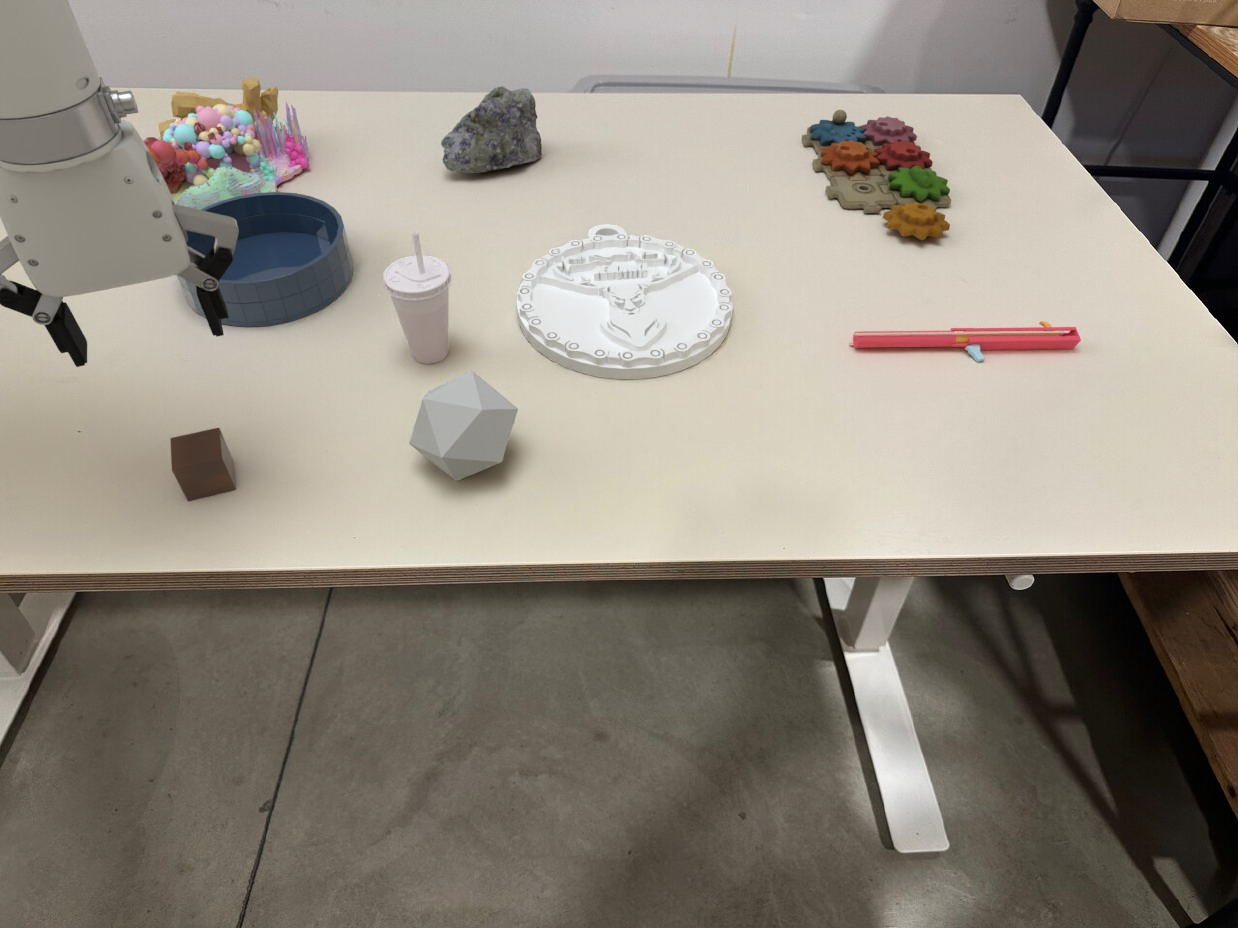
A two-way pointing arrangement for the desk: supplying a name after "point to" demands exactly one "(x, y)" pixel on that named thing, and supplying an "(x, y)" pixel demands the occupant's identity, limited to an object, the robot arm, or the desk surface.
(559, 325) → the medallion
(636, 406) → the desk surface
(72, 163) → the robot arm
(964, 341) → the red long bar
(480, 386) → the die
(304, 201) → the bowl
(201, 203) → the pastel sphere sculpture
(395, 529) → the desk surface
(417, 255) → the smoothie
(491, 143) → the mineral rock
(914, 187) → the gear puzzle
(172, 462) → the block
